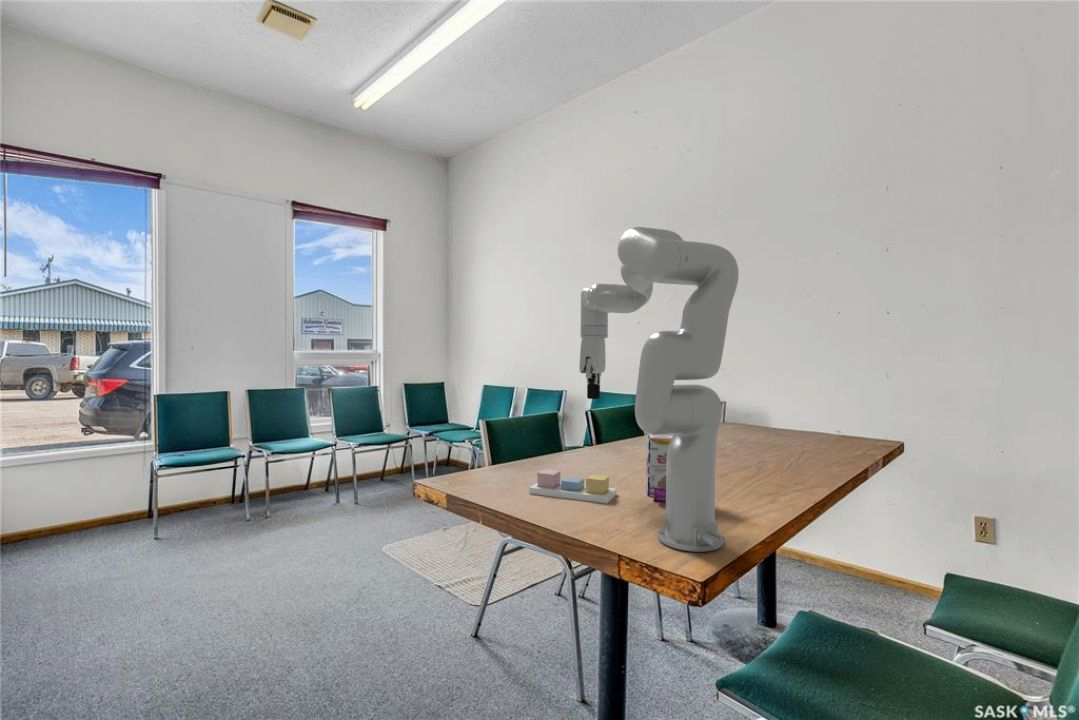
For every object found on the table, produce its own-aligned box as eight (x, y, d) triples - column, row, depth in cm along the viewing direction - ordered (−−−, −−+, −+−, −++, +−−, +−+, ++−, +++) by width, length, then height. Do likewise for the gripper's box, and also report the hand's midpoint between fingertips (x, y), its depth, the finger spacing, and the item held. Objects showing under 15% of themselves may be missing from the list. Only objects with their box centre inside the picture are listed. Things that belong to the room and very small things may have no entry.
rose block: (560, 489, 135) (560, 471, 135) (553, 494, 131) (554, 474, 131) (544, 487, 137) (544, 469, 137) (537, 492, 133) (537, 473, 132)
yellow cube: (608, 495, 130) (608, 476, 130) (603, 500, 126) (603, 480, 125) (591, 493, 132) (591, 474, 131) (585, 498, 127) (586, 478, 127)
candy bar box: (647, 502, 129) (648, 438, 129) (645, 496, 134) (646, 434, 134) (692, 504, 128) (693, 439, 128) (688, 498, 133) (689, 435, 133)
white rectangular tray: (616, 500, 131) (616, 488, 131) (607, 509, 123) (607, 497, 123) (541, 490, 139) (541, 480, 139) (529, 499, 131) (529, 487, 131)
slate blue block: (583, 497, 132) (584, 478, 132) (578, 502, 128) (578, 482, 128) (567, 495, 134) (567, 476, 134) (561, 500, 130) (561, 480, 130)
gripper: (589, 333, 150) (588, 396, 150) (572, 331, 136) (571, 400, 136) (614, 333, 147) (613, 397, 147) (599, 331, 133) (598, 401, 133)
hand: (593, 398), depth 142 cm, fingers closed
